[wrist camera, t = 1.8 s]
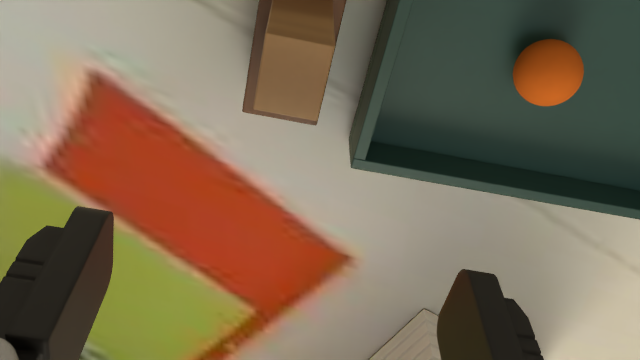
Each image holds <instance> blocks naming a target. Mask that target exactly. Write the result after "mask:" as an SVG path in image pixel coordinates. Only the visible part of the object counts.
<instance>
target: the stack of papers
mask: <svg viewBox="0 0 640 360" xmlns="http://www.w3.org/2000/svg"><path fill="white" fill-rule="evenodd" d="M438 317H439V316H437V315H435V314H433V313H431V312H429V311H427V310H425V309H423V310H422V311H421V312H420V313H419V314H418V315H417V316H416V317H415V318H414V319H413V320H411V321H410V322H409V323H408V324H407V325H406V326H405V327H404V328H403V329H402V330H401V331H400V332H398V333H397V334H396V335H395V336H394V337H393V338H392V339H391V340H390V341H389V342H388V343H387V344H385V345H384V346H383V347H382V348H381V349H380V350H379V351H378V352H377V353H376V354H375V355H374V356H373V357H371V358H370V359H369V360H441V356H440V351H439V346H438V341H437V322H438Z"/></svg>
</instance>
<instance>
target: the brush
mask: <svg viewBox="0 0 640 360" xmlns="http://www.w3.org/2000/svg"><path fill="white" fill-rule="evenodd" d="M345 4H346V0H259V5H258V11H257V18H256V24H255V31H254V37H253V44H252V50H251V57H250V63H249V70H248V76H247V83H246V89H245V96H244V102H243V109H242V111H243V112H246V113H251V114H257V115H262V116H267V117H273V118H278V119H284V120H289V121H294V122H300V123H305V124H311V125H316V124H317V121H318V117H319V113H320V108H321V104H322V100H323V96H324V92H325V87H326V83H327V79H328V75H329V71H330V67H331V62H332V58H333V54H334V50H335V46H336V41H337V37H338V33H339V29H340V25H341V20H342V16H343V12H344V8H345Z"/></svg>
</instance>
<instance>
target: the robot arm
mask: <svg viewBox="0 0 640 360" xmlns="http://www.w3.org/2000/svg"><path fill="white" fill-rule="evenodd" d="M113 226H114V217H113V213H112V212H110V211H104V210H98V209H92V208H86V207H79V206H78V207H76V208H75V209H74V211H73V212H72V214H71V216H70V218H69V220H68V221H67V223H66V225H65V227H64V228H60V227H54V226H46V227H44V228H43V229H41V230H40V231H39V232H37V233H36V234H34V235H33V236H32V237H30V238H29V239H27V241H26V242H25V244H24V246H23V247H22V249H21V250H20V252H19V254H18V255H17V257H16V260H15V262H13V263H12V265H11V266H10V268H9V270H8V271H7V274H6V277H4V278H3V279H2V281H1V283H0V360H79V357H80V355H81V352H82V350H83V347H84V345H85V342H86V340H87V338H88V335H89V333H90V330H91V328H92V325H93V323H94V320H95V318H96V316H97V313H98V311H99V308H100V306H101V303H102V301H103V298H104V296H105V294H106V291H107V288H108V285H109V282H110V278H111V273H112V267H113ZM437 341H438V346H439V351H440V356H441V360H544V359H543V356H541V355H540V353H541V351H540V348H539V345H538V343H537V340H535V335H534V332H533V329H532V327H531V324H530V321H529V319H528V317H527V316H526V314H525V313H524V312H523V311H522V309H521V308H520V307H519V306H518V304H517V303H516V302H515V301H514V299H508V298H504V296H503V293H502V291H501V288H500V285H499V282H498V279H497V277H496V276H495V275H494V274H490V273H484V272H478V271H472V270H465V269H462V270H461V271H460V272H459V273H458V275H457V277H456V279H455V281H454V283H453V286H452V288H451V290H450V292H449V294H448V296H447V298H446V300H445V303H444V305H443V307H442V309H441V311H440V314H439V317H438V322H437Z"/></svg>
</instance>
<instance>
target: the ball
mask: <svg viewBox="0 0 640 360" xmlns="http://www.w3.org/2000/svg"><path fill="white" fill-rule="evenodd" d="M583 75H584V66H583V62H582V59H581V57H580V55H579V53H578V52H577V51H576V49H575V48H573V47H572V46H571V45H570V44H568V43H566V42H564V41H561V40H556V39H544V40H540V41H537V42H535V43H532V44H531V45H529V46H528V47H526V48H525V49H524V50H523V51H522V52H521V53H520V55H519V56H518V58H517V60H516V62H515V65H514V69H513V81H514V85H515V87H516V89H517V91H518V93H519V94H520V95H521V96H522V97H523V98H524V99H525V100H527V101H528V102H530V103H532V104H535V105H538V106H554V105H557V104H560V103H563V102H565V101H566V100H568V99H569V98H570V97H572V96H573V95H574V94H575V93H576V91H577V90H578V89H579V87H580V85H581V83H582V79H583Z"/></svg>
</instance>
